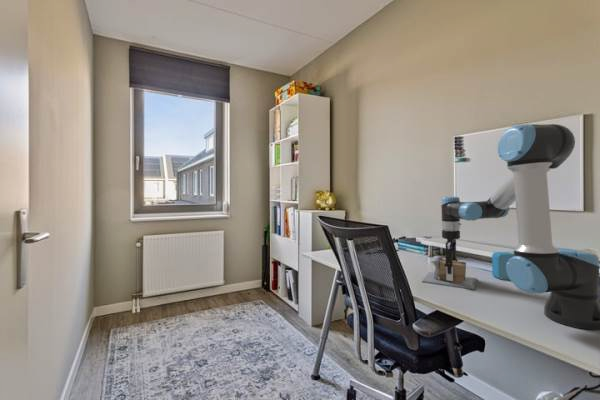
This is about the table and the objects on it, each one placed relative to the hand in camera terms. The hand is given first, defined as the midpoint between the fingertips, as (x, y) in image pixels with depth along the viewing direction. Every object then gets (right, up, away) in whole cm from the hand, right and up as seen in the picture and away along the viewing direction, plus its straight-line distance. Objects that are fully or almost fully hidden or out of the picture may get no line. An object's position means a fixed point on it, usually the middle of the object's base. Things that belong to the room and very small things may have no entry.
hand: (451, 277), depth 141 cm
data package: (+28, -1, +2) cm, 28 cm away
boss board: (-1, -2, 0) cm, 2 cm away
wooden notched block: (0, -1, 0) cm, 1 cm away
